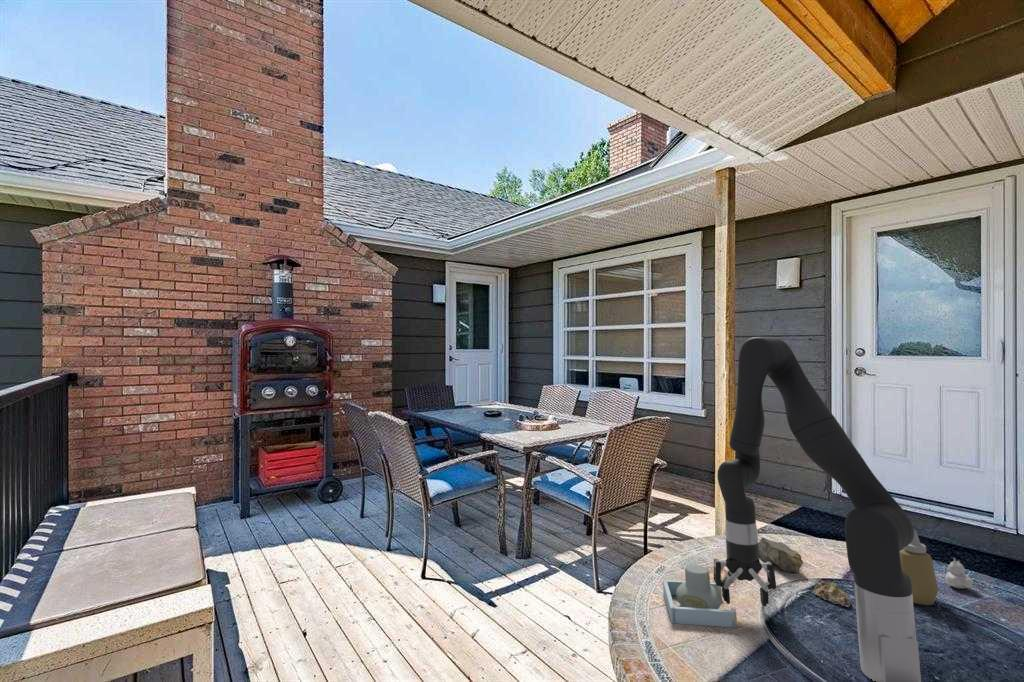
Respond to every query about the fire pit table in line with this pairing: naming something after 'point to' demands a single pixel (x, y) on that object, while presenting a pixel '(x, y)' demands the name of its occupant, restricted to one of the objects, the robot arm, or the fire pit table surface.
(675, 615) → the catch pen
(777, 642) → the fire pit table surface
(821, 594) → the mineral rock
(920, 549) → the squeeze bottle
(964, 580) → the rubber duck
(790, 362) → the robot arm
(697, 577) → the air freshener
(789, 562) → the rock
